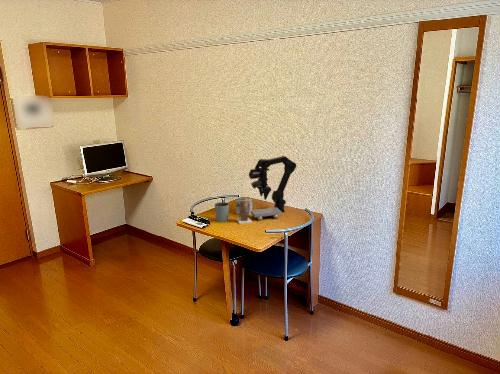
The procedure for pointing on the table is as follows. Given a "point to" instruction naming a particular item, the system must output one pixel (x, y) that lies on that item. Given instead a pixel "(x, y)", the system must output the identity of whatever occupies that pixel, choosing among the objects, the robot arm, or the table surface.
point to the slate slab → (266, 213)
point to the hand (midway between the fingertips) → (263, 197)
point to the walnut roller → (244, 210)
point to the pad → (244, 221)
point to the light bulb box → (248, 200)
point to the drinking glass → (221, 211)
